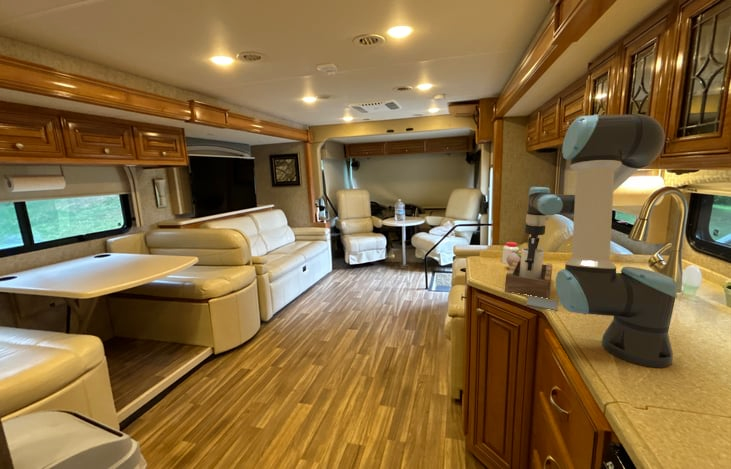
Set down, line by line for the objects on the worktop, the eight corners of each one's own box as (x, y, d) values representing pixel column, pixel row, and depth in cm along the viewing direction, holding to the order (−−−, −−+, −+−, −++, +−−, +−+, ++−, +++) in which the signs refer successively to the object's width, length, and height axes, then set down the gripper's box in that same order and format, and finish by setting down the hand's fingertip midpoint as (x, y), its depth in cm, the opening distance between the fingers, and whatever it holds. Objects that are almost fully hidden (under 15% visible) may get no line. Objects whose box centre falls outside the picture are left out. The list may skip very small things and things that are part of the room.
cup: (536, 290, 137) (540, 253, 134) (515, 285, 143) (519, 249, 139) (541, 285, 143) (546, 249, 140) (521, 281, 148) (525, 246, 145)
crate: (548, 299, 128) (551, 280, 126) (504, 291, 136) (506, 273, 134) (550, 280, 150) (552, 263, 148) (512, 274, 158) (514, 258, 156)
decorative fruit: (501, 267, 169) (503, 248, 167) (515, 266, 171) (517, 247, 169) (514, 273, 160) (516, 253, 158) (528, 271, 162) (530, 252, 160)
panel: (557, 311, 117) (557, 310, 117) (526, 305, 122) (526, 304, 122) (557, 302, 125) (557, 300, 125) (528, 296, 130) (528, 295, 130)
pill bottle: (500, 263, 177) (502, 243, 174) (503, 260, 183) (505, 240, 181) (515, 265, 172) (518, 245, 170) (518, 262, 178) (520, 242, 176)
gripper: (544, 230, 125) (537, 283, 129) (547, 221, 146) (541, 266, 151) (522, 228, 129) (517, 279, 133) (528, 219, 150) (523, 264, 154)
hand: (530, 273), depth 142 cm, fingers open, 13 cm apart
